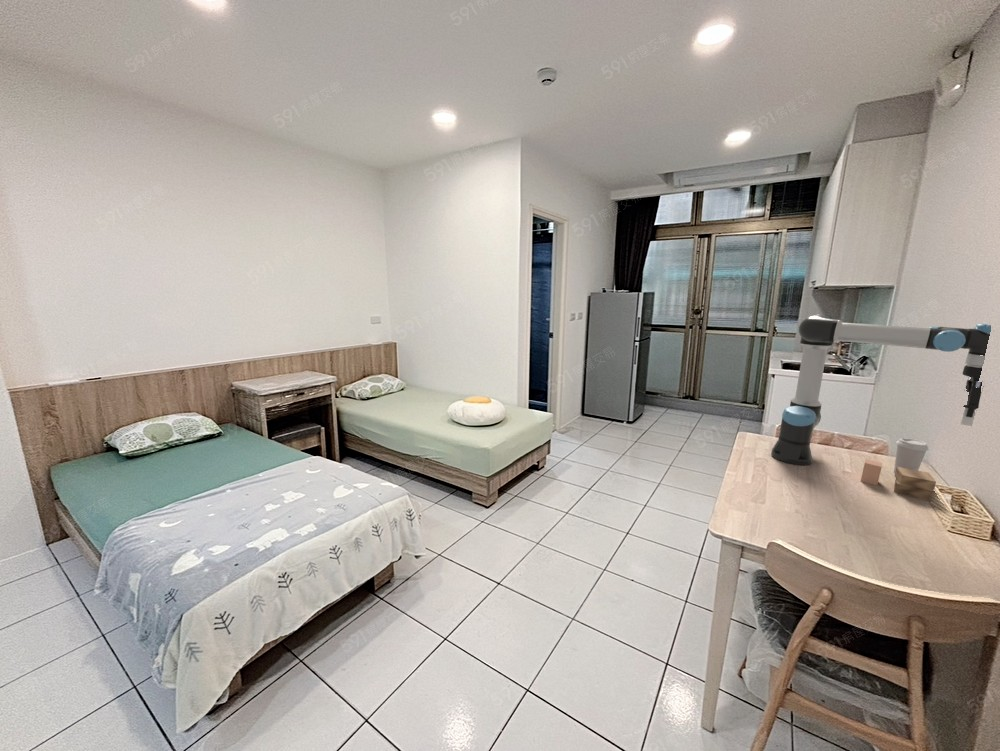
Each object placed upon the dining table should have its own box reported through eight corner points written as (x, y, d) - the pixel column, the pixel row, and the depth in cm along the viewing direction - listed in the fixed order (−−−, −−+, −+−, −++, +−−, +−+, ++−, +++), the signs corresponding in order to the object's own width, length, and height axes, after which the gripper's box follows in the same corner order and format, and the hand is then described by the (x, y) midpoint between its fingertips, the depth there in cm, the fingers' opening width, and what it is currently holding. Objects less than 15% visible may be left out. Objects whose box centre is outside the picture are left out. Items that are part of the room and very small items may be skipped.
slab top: (899, 484, 152) (902, 475, 151) (894, 475, 159) (896, 466, 158) (933, 491, 147) (936, 481, 146) (926, 482, 154) (928, 472, 153)
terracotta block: (860, 481, 162) (864, 462, 160) (861, 477, 166) (865, 459, 164) (877, 485, 159) (881, 466, 157) (877, 481, 162) (882, 463, 160)
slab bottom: (893, 492, 154) (895, 483, 153) (894, 484, 161) (896, 475, 160) (929, 502, 147) (931, 492, 147) (928, 493, 154) (931, 483, 153)
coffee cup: (906, 470, 173) (915, 437, 169) (927, 480, 163) (936, 446, 160) (882, 468, 173) (890, 436, 170) (902, 479, 164) (910, 445, 161)
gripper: (1001, 372, 136) (983, 431, 141) (991, 363, 153) (975, 415, 158) (968, 369, 141) (952, 425, 146) (961, 360, 158) (947, 411, 163)
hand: (964, 420), depth 152 cm, fingers open, 13 cm apart
